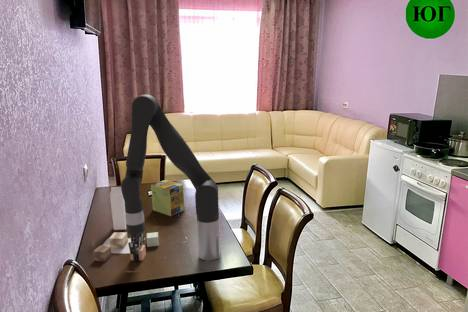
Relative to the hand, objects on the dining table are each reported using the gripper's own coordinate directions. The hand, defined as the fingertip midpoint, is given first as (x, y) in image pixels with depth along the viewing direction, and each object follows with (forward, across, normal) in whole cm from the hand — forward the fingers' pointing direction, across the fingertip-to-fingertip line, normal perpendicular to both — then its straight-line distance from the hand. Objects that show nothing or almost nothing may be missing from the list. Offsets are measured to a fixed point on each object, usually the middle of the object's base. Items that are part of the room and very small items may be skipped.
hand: (138, 257), depth 156 cm
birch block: (0, +10, +12) cm, 16 cm away
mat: (0, +10, +11) cm, 15 cm away
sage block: (+1, +12, -3) cm, 12 cm away
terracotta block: (0, 0, 0) cm, 0 cm away
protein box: (+1, +52, -1) cm, 52 cm away
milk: (+1, +29, +18) cm, 34 cm away
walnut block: (+1, -1, +15) cm, 15 cm away
